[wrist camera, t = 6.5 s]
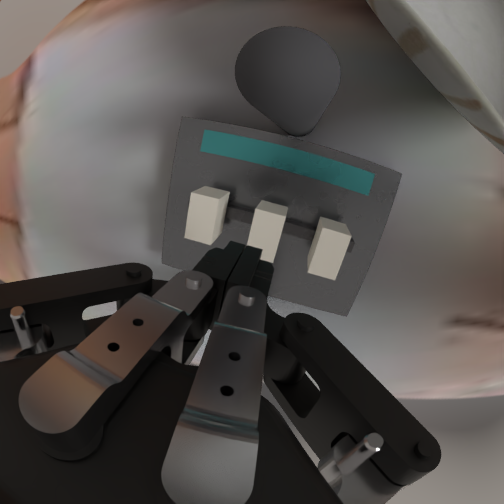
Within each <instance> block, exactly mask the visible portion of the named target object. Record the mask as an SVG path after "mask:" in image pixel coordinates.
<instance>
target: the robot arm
mask: <svg viewBox="0 0 504 504" xmlns="http://www.w3.org/2000/svg"><path fill="white" fill-rule="evenodd" d="M262 250H263V249H260V248H256V247H253V246H249V245H247V246H246V245H245V244H242V243H238V242H234V241H230V242H229V243H228V244H227V246H226V247H225V248H224V249H221V248H217V247H216V248H213V249H211V250H208V252H207V253H206V254H205V255H204V256H203V257H202V259H201V260H200V261H199V262H198V263H197V265H196V266H195V267H194V268H193V269H192V270H187V271H182V272H179V273H178V274H176V275H175V276H174V277H173V278H172V279H171V280H170V281H163V280H156V279H152V276H153V272H152V270H151V269H150V268H149V267H148V266H146V265H143V264H140V263H125V264H119V265H113V266H107V267H100V268H94V269H88V270H82V271H76V272H70V273H64V274H58V275H52V276H46V277H40V278H34V279H28V280H22V281H16V282H10V283H5V284H0V504H385V503H386V502H387V501H388V500H390V499H391V497H393V496H394V495H395V494H396V493H397V492H398V491H400V490H402V489H404V488H405V487H407V486H409V485H410V484H412V483H413V482H415V481H417V480H418V479H420V478H422V477H423V476H424V475H426V474H428V473H429V472H431V471H432V470H434V469H435V468H436V467H437V466H438V464H439V462H440V459H441V450H440V446H439V444H438V442H437V440H436V439H435V438H434V437H433V436H432V435H431V434H430V433H429V432H428V431H427V430H426V429H425V428H424V427H423V426H422V425H421V424H420V423H419V422H418V421H417V420H416V419H415V417H414V416H412V415H411V413H410V412H408V410H407V409H405V407H404V406H403V405H402V404H401V403H400V402H399V401H398V400H397V399H396V398H395V397H394V396H393V395H392V394H391V393H390V392H389V391H388V390H387V389H386V388H385V387H384V386H383V385H382V384H381V383H380V382H379V381H378V380H377V379H376V378H375V377H374V376H373V375H372V374H371V373H370V372H369V371H368V370H367V369H366V368H365V367H364V366H363V365H362V364H361V363H360V362H359V361H358V360H357V359H356V358H355V357H354V356H353V355H352V354H351V353H350V352H349V350H348V349H347V348H346V347H345V346H344V345H343V344H342V343H341V342H340V341H339V340H338V339H337V338H336V337H335V336H334V335H333V334H332V333H331V332H330V331H329V330H328V329H327V328H326V327H325V326H324V325H323V324H322V323H321V322H320V321H319V320H317V319H316V318H314V317H313V316H310V315H308V314H304V313H292V314H289V315H288V316H286V318H284V317H282V316H280V315H278V314H276V313H275V312H274V311H272V310H271V309H270V307H269V306H268V304H267V297H268V293H269V289H270V285H271V281H272V277H273V272H274V267H273V265H272V264H271V262H267V261H263V260H260V258H261V255H262ZM113 301H116V302H117V311H116V312H115V313H114V314H112V315H108V316H103V317H99V318H94V319H90V320H83V319H82V313H83V311H84V310H85V309H86V308H87V307H89V306H94V305H99V304H104V303H108V302H113ZM208 329H210V330H212V331H211V333H210V336H209V339H208V342H207V345H206V348H205V350H204V353H203V356H202V359H201V362H200V365H199V366H191V365H189V364H190V363H191V361H192V359H193V358H194V356H195V355H196V353H197V352H198V350H199V348H200V347H201V345H202V344H203V341H204V336H205V334H206V333H207V331H208ZM306 371H307V372H308V373H309V374H310V376H311V377H312V378H313V379H314V380H315V382H316V383H317V384H318V386H319V388H320V391H319V390H318V389H317V387H316V386H315V385H314V384H313V382H312V381H311V380H310V379H309V378H308V376H307V375H306V374H305V372H306ZM262 380H264V382H265V384H266V386H267V387H268V388H269V390H270V392H271V393H272V395H273V396H274V397H275V399H276V400H277V402H278V403H279V405H280V406H281V407H282V409H283V410H284V412H285V413H286V414H287V416H288V417H289V419H290V420H291V422H292V423H293V424H294V426H295V427H296V428H297V430H298V431H299V433H300V434H301V435H302V437H303V438H304V439H305V441H306V442H307V443H308V445H309V446H310V447H311V449H312V450H313V451H314V453H316V455H317V456H318V458H319V459H320V461H319V463H318V468H317V467H316V466H315V464H314V463H313V461H312V460H311V458H310V457H309V456H308V454H307V453H306V451H305V450H304V448H303V447H302V446H301V444H300V443H299V441H298V440H297V438H296V437H295V435H294V434H293V432H292V431H291V429H290V428H289V426H288V425H287V423H286V422H285V420H284V418H283V417H282V415H281V414H280V412H279V411H278V410H277V409H276V408H275V407H274V405H272V404H271V403H270V402H269V401H268V400H267V399H266V398H264V397H263V396H262V395H261V389H262Z"/></svg>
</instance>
